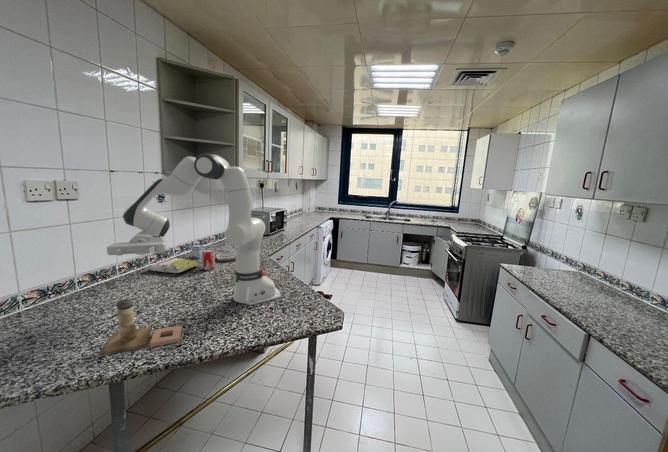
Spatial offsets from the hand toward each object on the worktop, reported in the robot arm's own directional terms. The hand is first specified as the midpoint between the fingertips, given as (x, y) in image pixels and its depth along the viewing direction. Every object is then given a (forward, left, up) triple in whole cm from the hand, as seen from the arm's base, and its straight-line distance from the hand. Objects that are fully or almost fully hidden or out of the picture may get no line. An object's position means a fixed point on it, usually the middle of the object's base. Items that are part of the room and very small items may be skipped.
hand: (133, 252), depth 110 cm
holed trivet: (-12, +20, -28) cm, 37 cm away
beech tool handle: (0, +18, -27) cm, 32 cm away
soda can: (-26, -55, -28) cm, 67 cm away
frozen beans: (-7, -60, -28) cm, 67 cm away
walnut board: (0, +18, -28) cm, 33 cm away
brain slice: (-39, -75, -28) cm, 89 cm away
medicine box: (-19, -83, -28) cm, 90 cm away
